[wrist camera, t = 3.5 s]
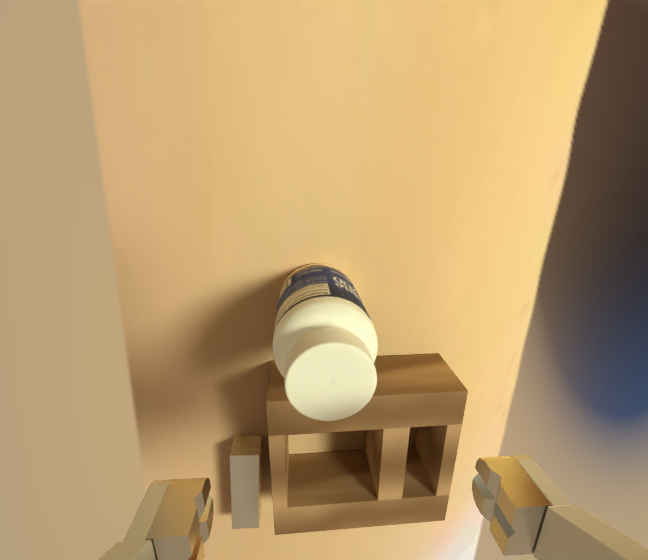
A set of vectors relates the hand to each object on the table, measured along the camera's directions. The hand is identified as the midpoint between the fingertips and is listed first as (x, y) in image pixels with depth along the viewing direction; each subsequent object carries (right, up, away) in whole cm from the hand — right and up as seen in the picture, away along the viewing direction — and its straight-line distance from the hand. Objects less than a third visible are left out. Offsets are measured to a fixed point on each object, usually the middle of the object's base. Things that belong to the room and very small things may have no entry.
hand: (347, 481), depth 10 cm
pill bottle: (-1, +5, +13) cm, 14 cm away
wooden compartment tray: (+2, -5, +17) cm, 18 cm away
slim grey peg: (-7, -10, +18) cm, 22 cm away
